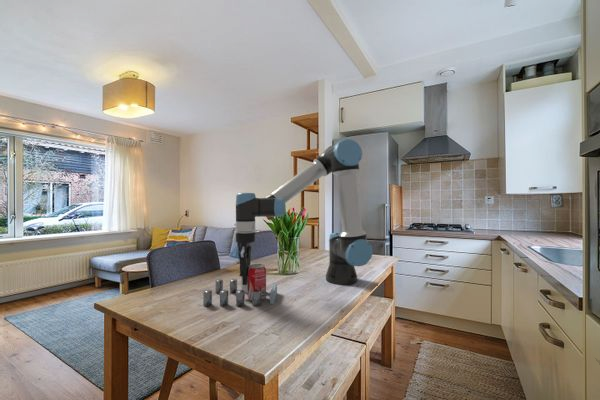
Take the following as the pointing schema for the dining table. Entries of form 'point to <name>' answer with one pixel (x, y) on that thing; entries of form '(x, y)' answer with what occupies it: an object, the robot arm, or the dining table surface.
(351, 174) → the robot arm
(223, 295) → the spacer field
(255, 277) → the soda can
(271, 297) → the stop rail
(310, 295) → the dining table surface
